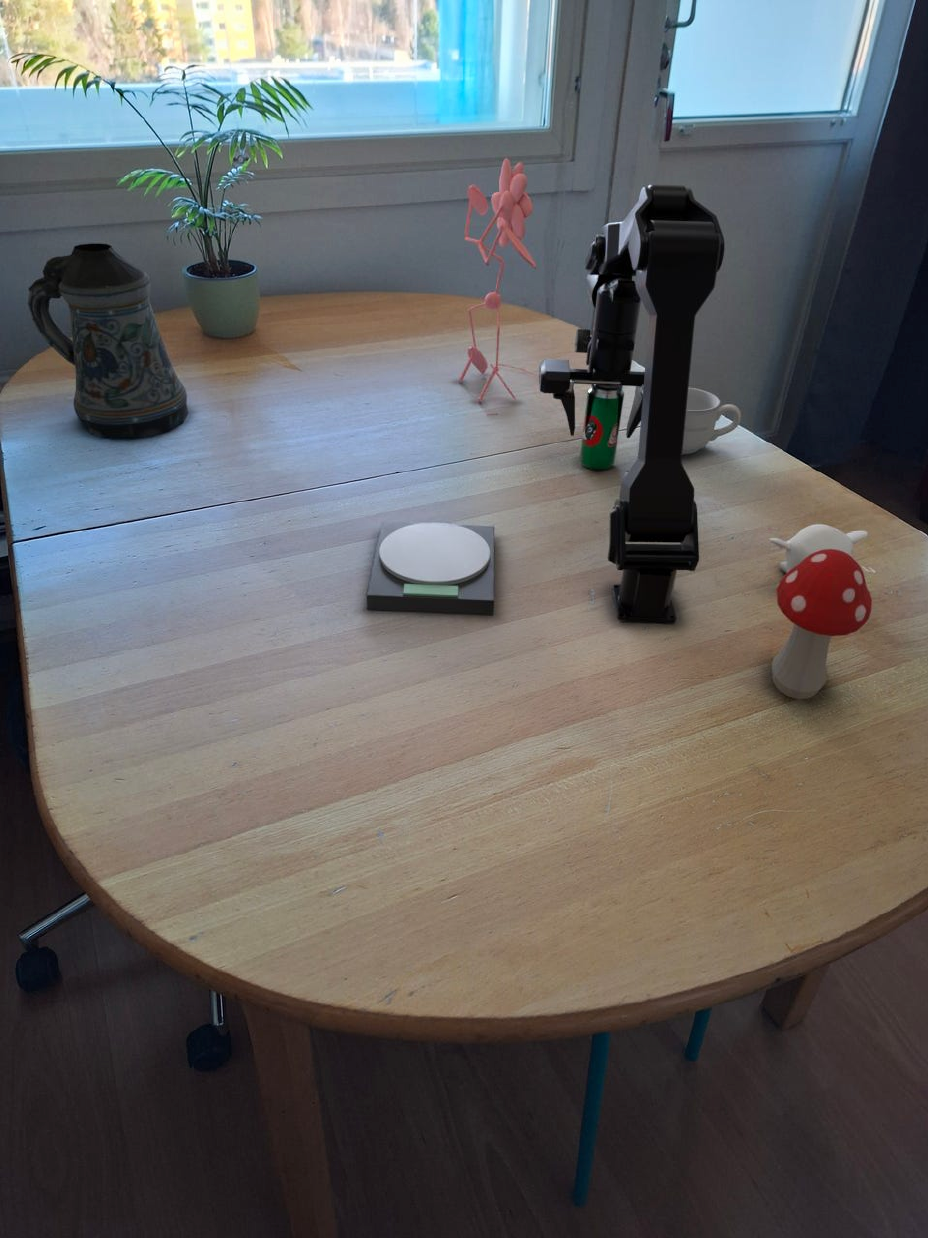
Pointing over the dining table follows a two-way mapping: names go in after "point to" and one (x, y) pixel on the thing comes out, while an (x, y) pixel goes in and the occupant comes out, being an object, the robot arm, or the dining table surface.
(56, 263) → the beer stein
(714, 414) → the teacup
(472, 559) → the kitchen scale
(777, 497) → the dining table surface
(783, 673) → the decorative mushroom
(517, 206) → the figurine
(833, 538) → the figurine
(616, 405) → the soda can
